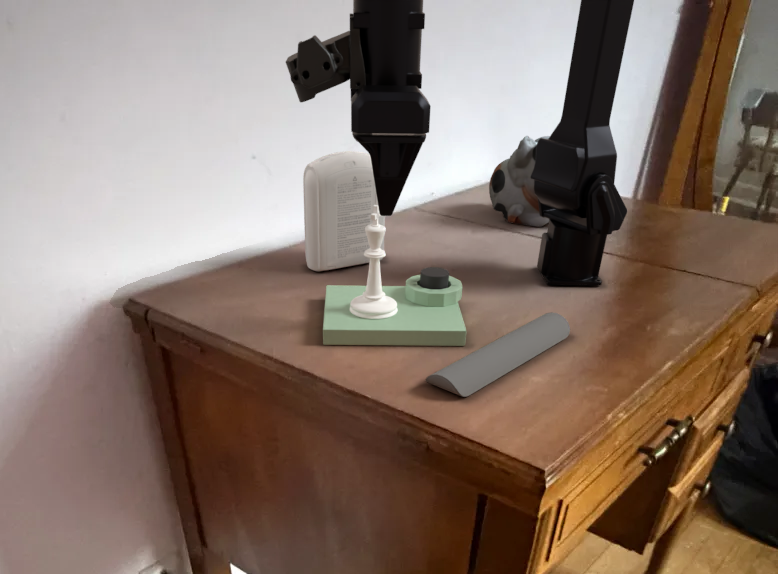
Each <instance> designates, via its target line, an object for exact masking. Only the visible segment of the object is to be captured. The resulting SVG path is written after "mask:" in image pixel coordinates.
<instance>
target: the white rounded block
mask: <svg viewBox="0 0 778 574" xmlns="http://www.w3.org/2000/svg"><path fill="white" fill-rule="evenodd" d="M302 183H303V185H302V187H303V220H304V221H303V222H304V224H303V225H304V251H305V261H306V266H307V268H308V269H309V270H311V271H314V272H323V271H329V270H330V271H331V270H336V269H341V268H346V267H352V266H353V267H354V266H358V265H359V266H360V265H364V264H369V263H370V258H368V257H366V256H364V253H365V251H366V250H367V249H369V248H370V246H369V243H368V238H367V235H366V232H365V227H366V226H367V225H370V224H373V220H371V214H372V213H373V206H374V205H378V200H377V194H376V188H375V182H374V175H373V169H372V163H371V157H370V154H369V153H368V152H367V153H366V152H364V151H363V152H362V151H355V150H354V151H353V150H346V151H344V150H343V151H337V152H333V153H329V154H326V155H323V156H321V157H318V158H316V159H315V160H313V161H311V162H309V163H308V164H307V165H306V166H305V167H304V171H303V175H302ZM378 224H380V225H383V226H384V227H385V228H386V226H385V225H386V216H379V217H378ZM380 248H381V250H384V251H385V236H384V237H383V240H382V244H381V246H380ZM383 258H384V257H383ZM383 258H380V261H382V260H383Z"/></svg>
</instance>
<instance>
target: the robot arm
mask: <svg viewBox="0 0 778 574" xmlns="http://www.w3.org/2000/svg"><path fill="white" fill-rule="evenodd" d="M634 3H635V0H580V5H579V11H578V15H577V16H578V17H577V23H576V29H575V36H574V41H573V47H572V52H571V59H570V64H569V70H568V71H569V72H568V77H567V83H566V88H565V95H564V101H563V107H562V112H561V116H560V117H561V118H560V120H559V123H557V126H556V127H555V128H554V129H553V130H552V133H551V134H550V135H549V136H550V137H549V139H545V138H540V137H539V138H540V139H539V140H538V143H537V145H536V160H535V165H534V169H533V172H532V174H531V177H530V178H531V179H533V180H534V193H535V195H536V196H537V197H538V206H539V215H540V216H541V217H543V218H544V217H546V218H548V219H549V222H548V223H547V224H548V225H547V231H546V232H543V233H542V234H541V239H540V246H539V251H538V258H537V264H536V268H537V270H538V272H539V273H540V274H541V276H542V278H543V280H544V281H545V283H546V285H549V286H597V287H598V286H602V284H603V280H602V279H601V277H600V276H599V275H600V270H601V266H602V260H603V256H604V251H605V247H606V242H607V238H608V236H609V235H612V233H613V232H616V231H620V229H621V227H622V225H623V223H624V221H625V218H626V216H627V214H628V208H627V207H626V205H625V202H624V200H623V199H622V196H621V195H620V193H619V191H618V188H617V187H616V185H615V181H616V180H615V179H616V171H617V160H618V152H617V148H616V144H615V141H614V137H613V134H612V130H611V126H610V122H611V117H612V116H611V115H612V111H613V107H614V101H615V96H616V92H617V86H618V82H619V76H620V72H621V67H622V63H623V57H624V52H625V49H626V42H627V38H628V33H629V29H630V28H629V27H630V23H631V17H632V14H633V13H632V12H633V8H634ZM352 8H353V9H352V13H349V30H347V31H345V32H342V33H340V34H338V35H335V36H333V37H330V38H327V39H325V40H323V41H322V40H321V39H320V38H319V37H318V36H317V35H315V34H314V35H312V37H309V38H307V39H306V40H303V41H302V40H301V41H299V42H298V44H297V52H295V53H293V54H291V55H290V56H288V57H287V58H286V60H285V65H286V68H287V70H288V73H289V75H290V76H289V77H290V82H291V83H292V84H293V87H294V90H295V93H296V95H297V98H298V102H299V103H306V102H308V101H310V100H313V99H315V97H316V95H318V94H320V93H323V92H324V91H327V90H330V89H332V88H334V87H336V86H339V85H342V84H344V83H345V82H347V81H349V89H350V120H351V121H350V123H351V124H350V130H351V131H350V132H351V135H352V137H353V139H354V140H355V141H356V142H358V143H359V144H360V145H361V147H362V148H363V149H364V150H365V151H367V154H370V157H371V163H372V169H373V175H374V182H375V188H376V194H377V200H378V207H379V213H380V215H381V216H385V217H391V216H392V215H393V214H394V211H395V209H396V208H397V207H396V206H397V204H398V202H399V200H400V197H401V194H402V192H403V190H404V187H405V185H406V183H407V180H408V178H409V176H410V173H411V171H412V169H413V167H414V165H415V162H416V160H417V157H418V155H419V153H420V151H421V149H422V146H423V144H424V143H425V141H426V138H427V134H429V133H430V124H431V123H430V121H431V104H430V102H429V100H428V99H427V97H426V96H425V95H424V93H423V92H422V91H421V90H422V83H423V74H422V73H421V58H422V35H423V30H425V24H426V23H425V22H426V21H425V20H426V13H425V12H424V0H352Z"/></svg>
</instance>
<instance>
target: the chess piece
mask: <svg viewBox="0 0 778 574" xmlns="http://www.w3.org/2000/svg"><path fill="white" fill-rule="evenodd" d="M379 216H381V215H380V213H379V207H378V205H374V206H373V213H372V214H371V220H373V224H370V225H367V226H366V227H365V232H366V235H367V238H368V243H369V246H370V248H369V249H367V250H366V251H365V253H364V256H366V257H368V258H370V263H368V272H367V280H366V285H365V286H366V291H365V292H363V295H361V296H358V297H355V298H354V299H353V300H352V301H351V303H350V312H351V313H352V314H354V315H355V316H358V317H361V318H366V319H384V318H388V317H391V316H393V315H395V314H396V313H397V311H398V309H397V302H396V301H395V300H394V299H393V298H391V297H388V296H385V293H384V292H383V291H382V286H383V285H382V276H381V275H382V274H381V260H380V258H385V257H386V255H387V254H386V251H385V249H384V250H381V248H380V246H381V244H382V240H383V237H384V238H385V235H386V231H387V228H386V226H385V227H384V226H383V225H380V224H378V217H379Z"/></svg>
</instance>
